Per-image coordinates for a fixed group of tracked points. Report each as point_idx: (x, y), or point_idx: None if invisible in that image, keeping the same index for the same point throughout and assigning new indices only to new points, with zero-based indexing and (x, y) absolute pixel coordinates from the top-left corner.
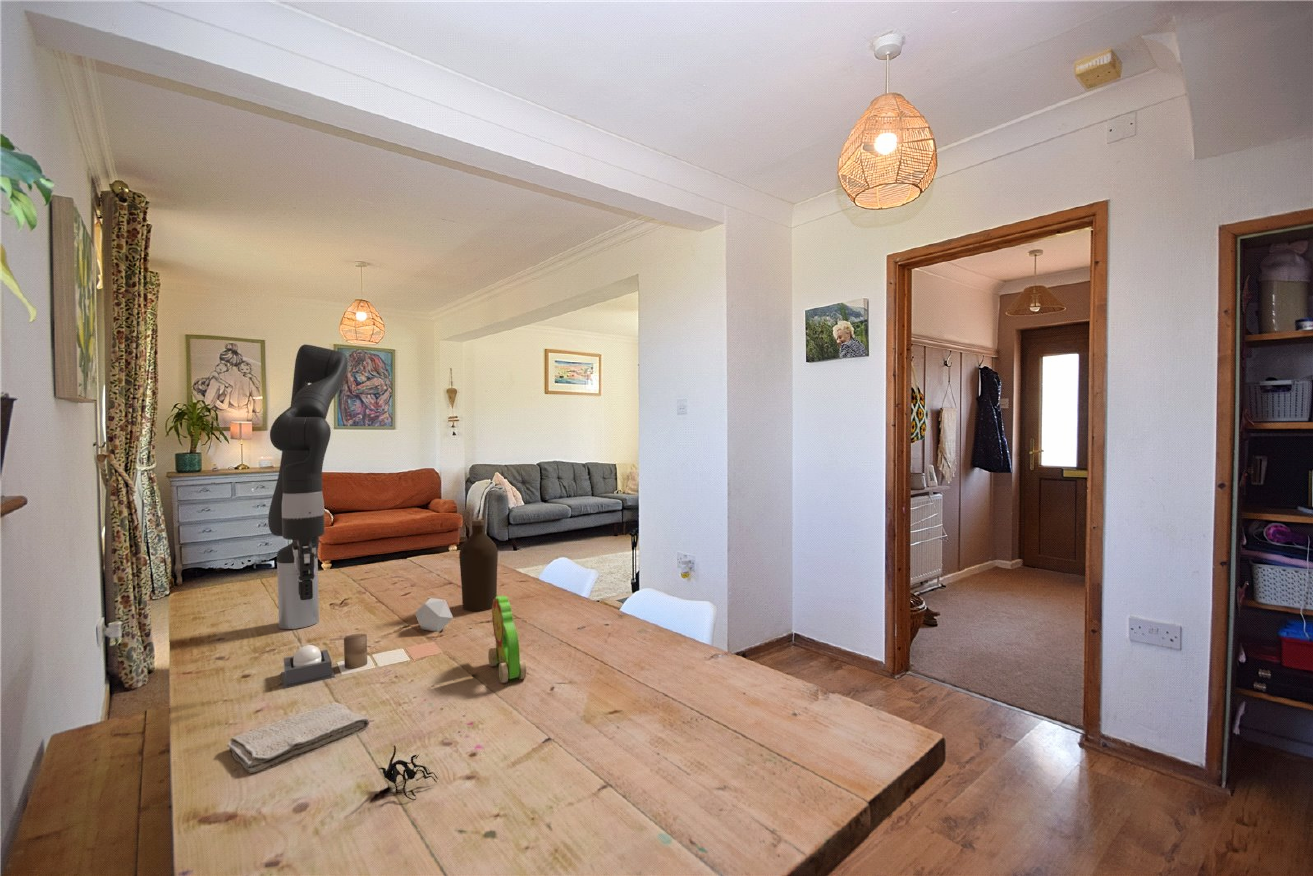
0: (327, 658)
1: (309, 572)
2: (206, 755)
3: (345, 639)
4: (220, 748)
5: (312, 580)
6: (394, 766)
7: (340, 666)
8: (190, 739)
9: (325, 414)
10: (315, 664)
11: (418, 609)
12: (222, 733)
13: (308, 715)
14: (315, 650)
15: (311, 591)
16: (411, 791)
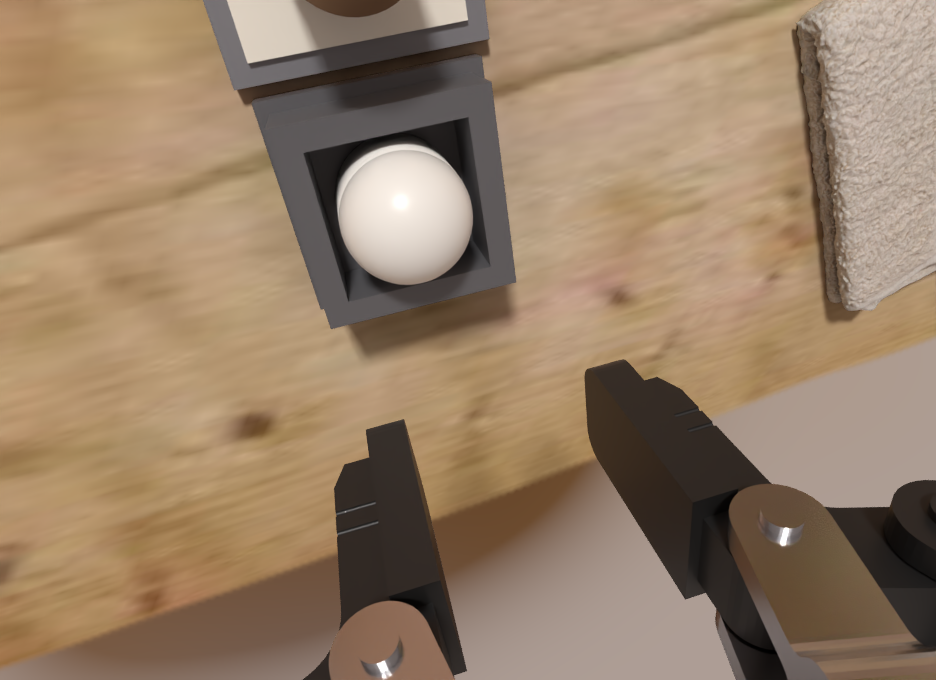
0: (432, 110)
1: (443, 658)
2: (816, 343)
3: (374, 3)
4: (802, 324)
5: (762, 489)
6: None
7: (332, 36)
8: (701, 406)
9: None
10: (499, 163)
11: None
12: (717, 347)
13: (895, 119)
14: (440, 186)
15: (661, 406)
16: None
